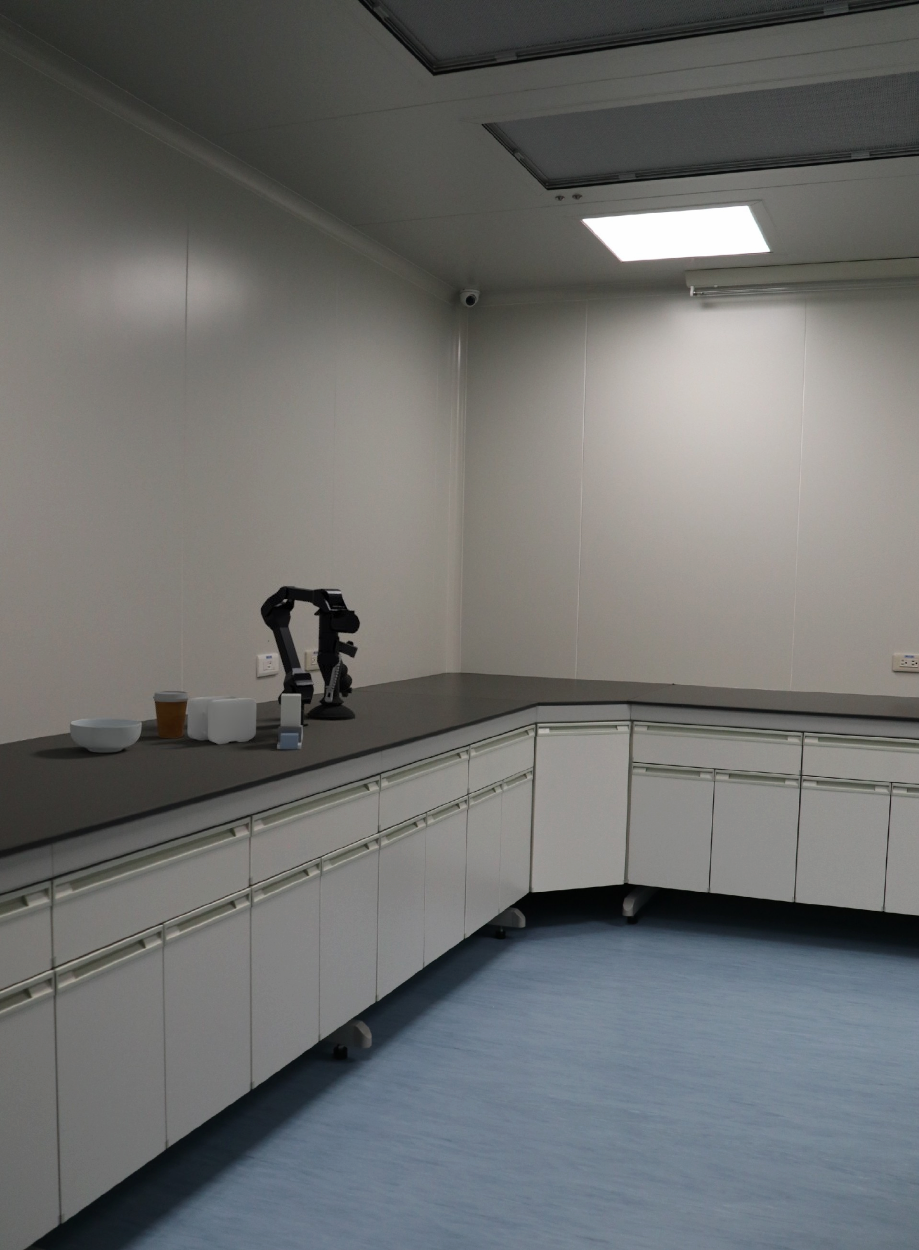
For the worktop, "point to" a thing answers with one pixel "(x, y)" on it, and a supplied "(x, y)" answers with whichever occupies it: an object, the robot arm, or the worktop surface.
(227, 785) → the worktop surface
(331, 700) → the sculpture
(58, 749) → the worktop surface
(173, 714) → the disposable coffee cup
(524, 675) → the worktop surface
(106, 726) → the cereal bowl
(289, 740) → the cord rail
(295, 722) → the grey rectangular box
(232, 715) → the cable organizer
